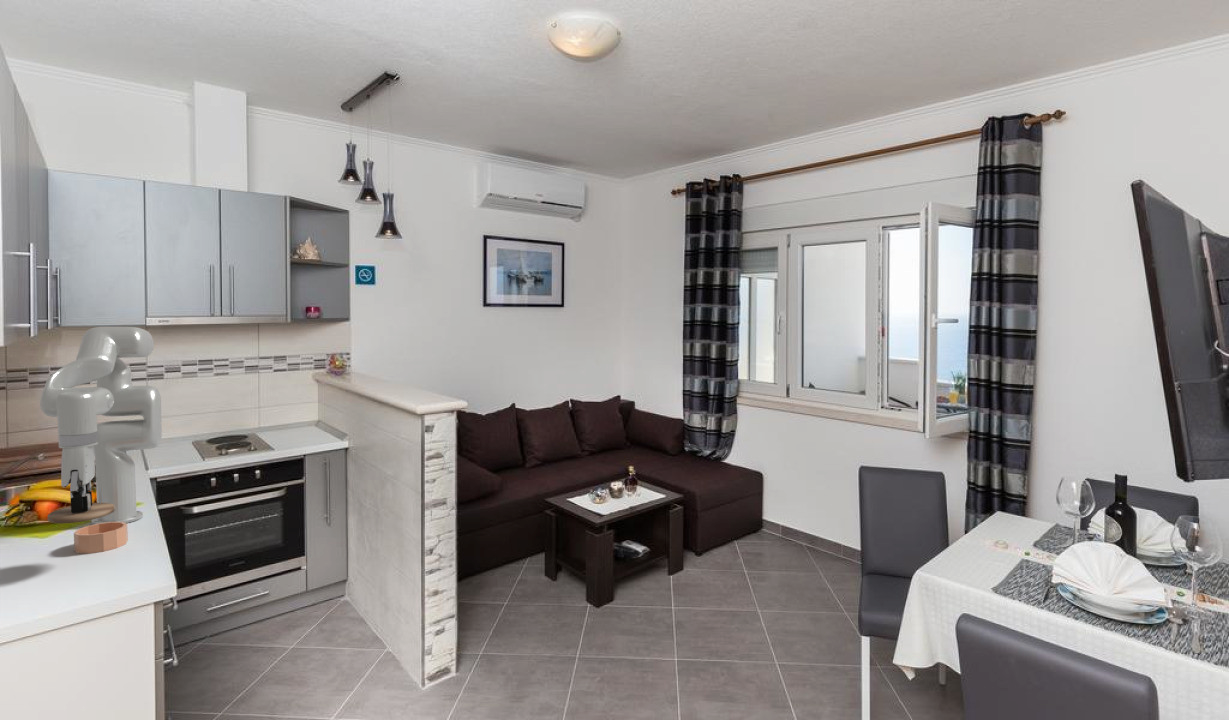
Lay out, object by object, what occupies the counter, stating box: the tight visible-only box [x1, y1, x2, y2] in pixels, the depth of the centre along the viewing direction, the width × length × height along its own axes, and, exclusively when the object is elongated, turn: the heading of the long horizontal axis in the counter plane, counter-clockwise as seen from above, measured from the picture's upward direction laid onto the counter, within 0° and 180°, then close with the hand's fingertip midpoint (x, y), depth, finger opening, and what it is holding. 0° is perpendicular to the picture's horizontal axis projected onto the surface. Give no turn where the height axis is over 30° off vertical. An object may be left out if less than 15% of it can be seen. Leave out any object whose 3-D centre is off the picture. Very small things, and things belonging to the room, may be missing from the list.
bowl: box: [73, 522, 129, 554], centre depth 169 cm, size 11×11×5 cm
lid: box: [47, 494, 115, 524], centre depth 156 cm, size 13×13×5 cm
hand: (81, 508), depth 156 cm, fingers closed on lid, 3 cm apart
